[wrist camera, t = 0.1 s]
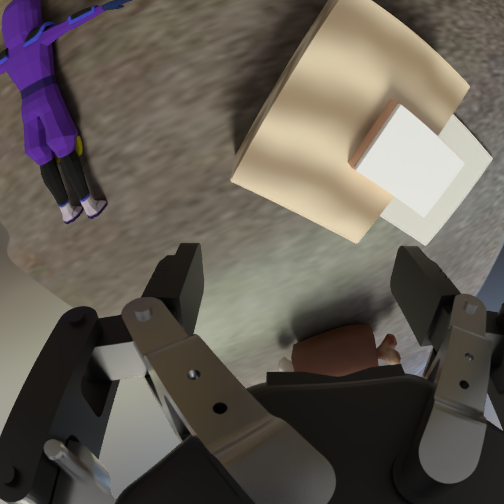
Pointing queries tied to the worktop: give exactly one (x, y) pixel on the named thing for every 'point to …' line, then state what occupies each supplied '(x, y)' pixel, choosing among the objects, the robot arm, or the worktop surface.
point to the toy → (47, 99)
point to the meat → (340, 352)
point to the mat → (453, 195)
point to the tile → (406, 159)
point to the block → (341, 114)
